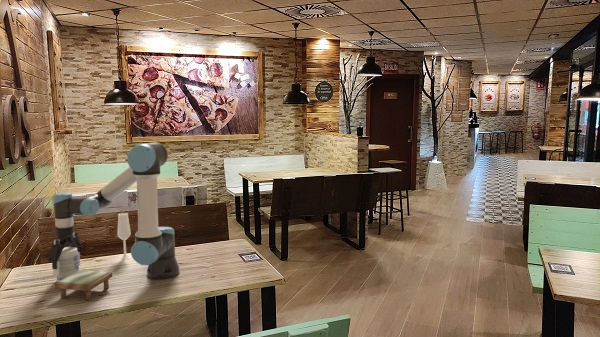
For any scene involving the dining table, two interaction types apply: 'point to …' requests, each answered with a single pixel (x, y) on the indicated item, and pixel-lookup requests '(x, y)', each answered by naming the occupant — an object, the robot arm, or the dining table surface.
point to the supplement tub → (68, 262)
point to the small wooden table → (83, 282)
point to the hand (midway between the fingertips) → (67, 270)
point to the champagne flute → (123, 232)
